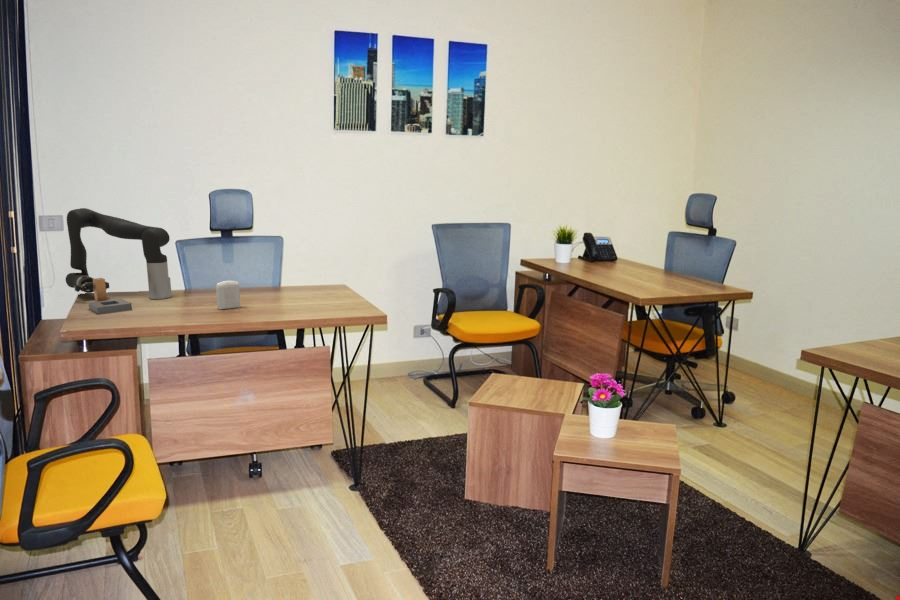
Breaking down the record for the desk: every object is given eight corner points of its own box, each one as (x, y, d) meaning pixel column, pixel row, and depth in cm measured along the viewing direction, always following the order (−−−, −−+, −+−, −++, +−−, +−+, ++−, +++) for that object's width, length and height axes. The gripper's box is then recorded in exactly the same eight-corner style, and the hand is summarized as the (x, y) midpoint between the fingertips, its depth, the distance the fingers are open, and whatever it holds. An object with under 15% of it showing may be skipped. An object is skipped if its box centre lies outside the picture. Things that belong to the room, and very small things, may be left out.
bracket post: (104, 303, 333) (102, 277, 330) (107, 305, 329) (104, 279, 327) (95, 304, 330) (92, 278, 328) (98, 306, 327) (95, 280, 324)
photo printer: (239, 305, 326) (237, 278, 323) (242, 307, 322) (240, 280, 320) (216, 308, 320) (214, 281, 318) (218, 310, 317) (216, 282, 314)
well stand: (122, 305, 329) (121, 298, 328) (131, 309, 319) (131, 303, 318) (89, 309, 320) (88, 302, 320) (97, 314, 310) (97, 307, 309)
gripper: (69, 278, 341) (78, 282, 328) (101, 274, 350) (111, 278, 337) (71, 293, 342) (80, 298, 330) (103, 289, 351) (113, 294, 339)
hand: (95, 288), depth 334 cm, fingers open, 8 cm apart
